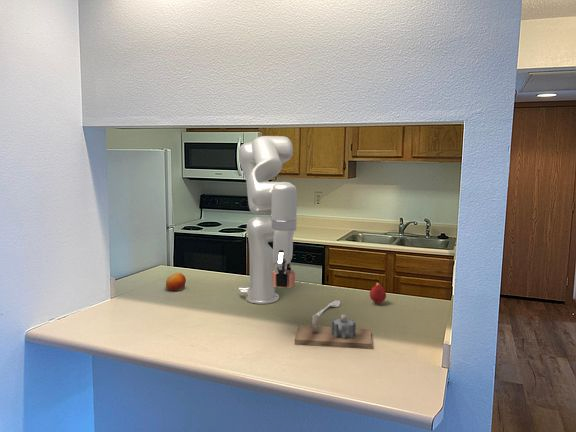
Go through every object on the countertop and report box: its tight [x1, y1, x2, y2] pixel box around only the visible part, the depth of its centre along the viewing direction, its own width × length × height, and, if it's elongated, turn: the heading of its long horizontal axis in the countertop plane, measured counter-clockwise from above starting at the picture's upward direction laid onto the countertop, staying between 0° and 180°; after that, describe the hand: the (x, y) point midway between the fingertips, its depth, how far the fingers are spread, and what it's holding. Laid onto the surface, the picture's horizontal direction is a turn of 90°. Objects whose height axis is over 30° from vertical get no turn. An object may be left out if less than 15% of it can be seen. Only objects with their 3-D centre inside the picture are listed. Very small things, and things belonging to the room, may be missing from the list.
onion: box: [369, 282, 387, 305], centre depth 165 cm, size 6×6×8 cm
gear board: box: [293, 313, 373, 350], centre depth 134 cm, size 22×11×8 cm, turn 82°
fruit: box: [165, 272, 187, 292], centre depth 183 cm, size 8×8×8 cm
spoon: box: [314, 300, 341, 317], centre depth 159 cm, size 4×21×2 cm, turn 146°
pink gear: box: [272, 269, 296, 289], centre depth 138 cm, size 7×7×4 cm
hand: (283, 282), depth 138 cm, fingers closed on pink gear, 6 cm apart
